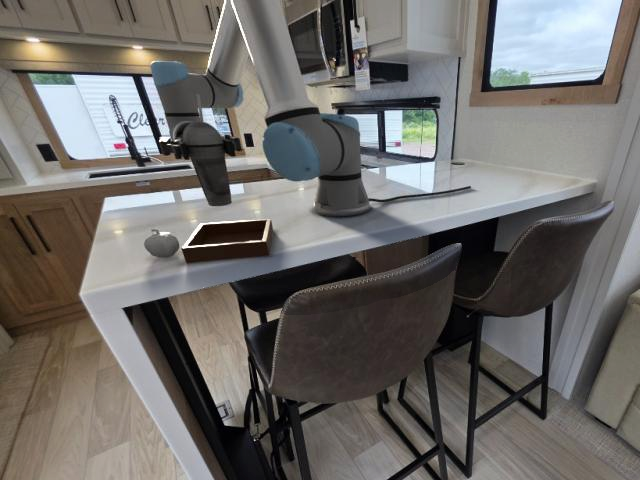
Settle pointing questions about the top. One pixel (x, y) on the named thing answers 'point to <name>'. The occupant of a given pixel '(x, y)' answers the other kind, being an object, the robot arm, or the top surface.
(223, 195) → the beverage cup
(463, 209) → the top surface
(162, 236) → the grey pumpkin
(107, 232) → the top surface
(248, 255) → the tray
